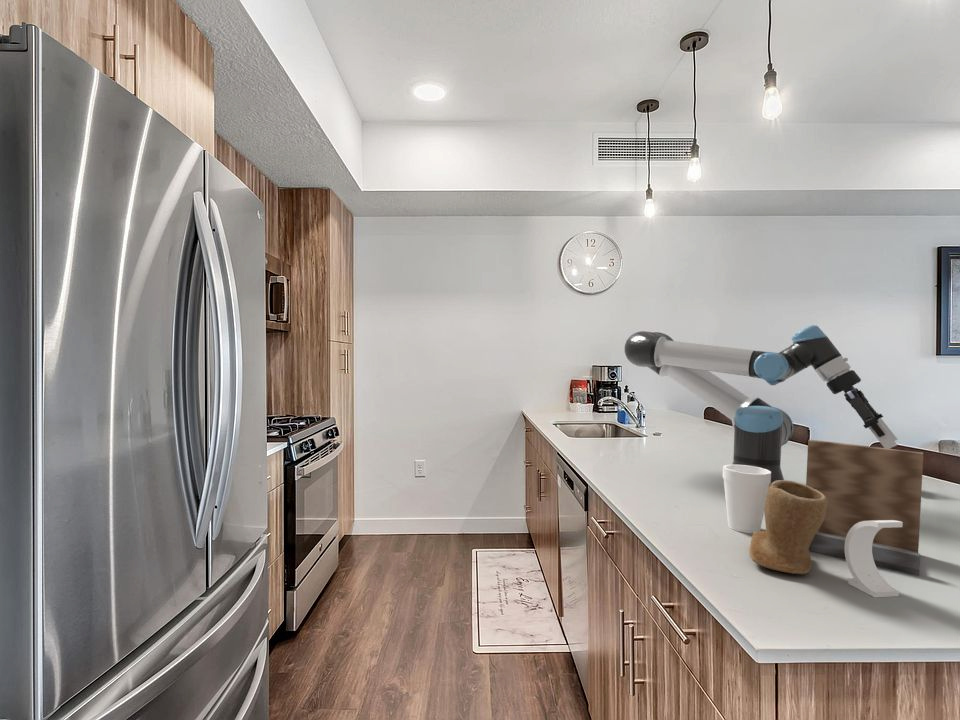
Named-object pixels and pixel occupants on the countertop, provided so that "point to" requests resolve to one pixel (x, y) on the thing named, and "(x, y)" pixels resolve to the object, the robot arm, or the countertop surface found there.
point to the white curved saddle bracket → (867, 558)
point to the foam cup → (745, 496)
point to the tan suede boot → (788, 527)
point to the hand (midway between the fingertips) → (892, 444)
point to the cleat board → (868, 499)
